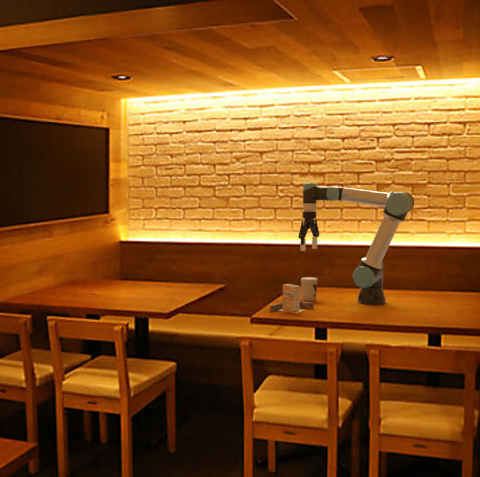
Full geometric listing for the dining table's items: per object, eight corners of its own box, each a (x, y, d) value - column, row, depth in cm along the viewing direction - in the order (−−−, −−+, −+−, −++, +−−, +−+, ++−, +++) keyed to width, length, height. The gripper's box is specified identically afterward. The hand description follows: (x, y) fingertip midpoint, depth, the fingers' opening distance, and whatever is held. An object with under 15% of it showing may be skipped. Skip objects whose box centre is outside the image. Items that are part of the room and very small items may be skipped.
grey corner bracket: (313, 308, 358) (313, 302, 358) (294, 314, 341) (294, 308, 341) (289, 305, 366) (289, 299, 366) (270, 311, 349) (270, 305, 349)
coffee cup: (316, 301, 378) (316, 279, 377) (299, 300, 380) (300, 279, 379) (318, 298, 388) (318, 277, 386) (301, 297, 389) (301, 276, 388)
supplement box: (281, 309, 353) (282, 284, 352) (288, 308, 356) (288, 283, 355) (293, 312, 347) (294, 286, 346) (300, 310, 350) (300, 285, 349)
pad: (304, 310, 352) (304, 310, 352) (296, 313, 345) (296, 312, 345) (285, 308, 358) (285, 307, 358) (277, 310, 351) (277, 310, 351)
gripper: (313, 209, 386) (313, 247, 388) (292, 211, 366) (291, 251, 368) (325, 210, 382) (325, 248, 384) (304, 212, 362) (304, 252, 364)
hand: (308, 249), depth 376 cm, fingers open, 13 cm apart
